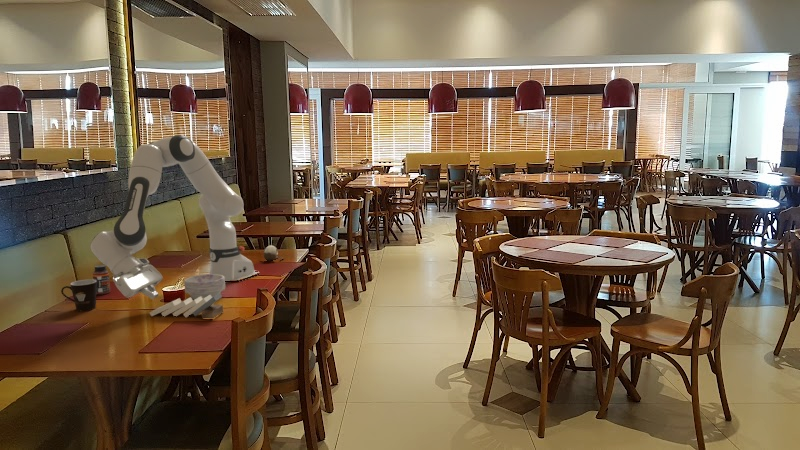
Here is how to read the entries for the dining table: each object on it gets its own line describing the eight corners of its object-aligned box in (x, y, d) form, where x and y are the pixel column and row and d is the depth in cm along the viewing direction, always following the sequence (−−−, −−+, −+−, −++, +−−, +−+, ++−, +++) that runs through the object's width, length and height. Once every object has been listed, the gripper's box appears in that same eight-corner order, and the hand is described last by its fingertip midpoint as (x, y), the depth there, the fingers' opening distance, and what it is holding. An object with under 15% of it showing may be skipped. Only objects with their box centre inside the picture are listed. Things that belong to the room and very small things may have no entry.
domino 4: (183, 314, 209) (203, 298, 207) (190, 309, 214) (210, 294, 212) (185, 317, 210) (206, 302, 207) (192, 313, 214) (213, 298, 212)
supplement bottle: (104, 295, 240) (101, 267, 238) (91, 294, 241) (88, 267, 239) (113, 291, 246) (111, 264, 244) (101, 290, 247) (98, 264, 245)
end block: (202, 319, 207) (201, 311, 207) (212, 312, 215) (212, 304, 214) (213, 320, 206) (212, 311, 206) (223, 313, 214) (222, 305, 214)
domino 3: (172, 313, 210) (194, 299, 208) (179, 309, 215) (201, 296, 213) (174, 317, 210) (196, 303, 208) (182, 313, 215) (203, 299, 213)
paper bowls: (214, 290, 246) (213, 271, 244) (233, 297, 235) (232, 277, 234) (178, 297, 235) (177, 278, 234) (196, 305, 224) (195, 284, 223)
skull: (261, 255, 307) (273, 241, 306) (276, 269, 308) (289, 254, 306) (254, 260, 296) (267, 244, 294) (269, 273, 296) (283, 258, 295)
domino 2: (161, 313, 211) (183, 301, 209) (168, 308, 216) (190, 297, 214) (163, 317, 211) (185, 305, 209) (170, 312, 216) (192, 301, 214)
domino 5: (192, 312, 209) (213, 296, 207) (199, 308, 214) (219, 293, 212) (195, 316, 209) (216, 300, 207) (202, 312, 214) (222, 296, 212)
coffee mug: (104, 306, 225) (101, 280, 223) (85, 312, 217) (83, 286, 215) (80, 303, 229) (77, 278, 227) (61, 310, 221) (58, 283, 219)
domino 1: (149, 312, 211) (172, 301, 209) (157, 308, 216) (179, 297, 214) (151, 316, 212) (174, 305, 210) (159, 312, 216) (181, 301, 214)
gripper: (115, 270, 202) (144, 299, 202) (149, 257, 222) (175, 283, 222) (104, 283, 203) (133, 311, 203) (139, 269, 223) (165, 295, 223)
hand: (155, 297), depth 213 cm, fingers closed
